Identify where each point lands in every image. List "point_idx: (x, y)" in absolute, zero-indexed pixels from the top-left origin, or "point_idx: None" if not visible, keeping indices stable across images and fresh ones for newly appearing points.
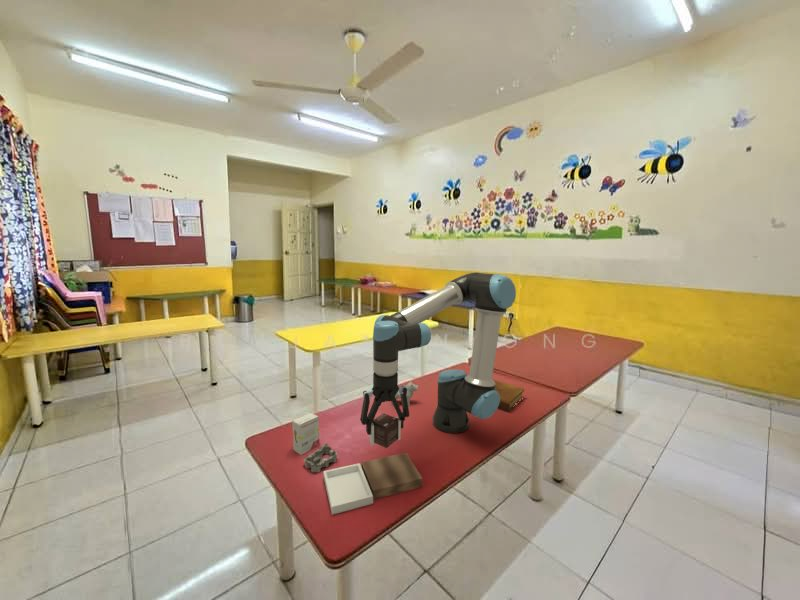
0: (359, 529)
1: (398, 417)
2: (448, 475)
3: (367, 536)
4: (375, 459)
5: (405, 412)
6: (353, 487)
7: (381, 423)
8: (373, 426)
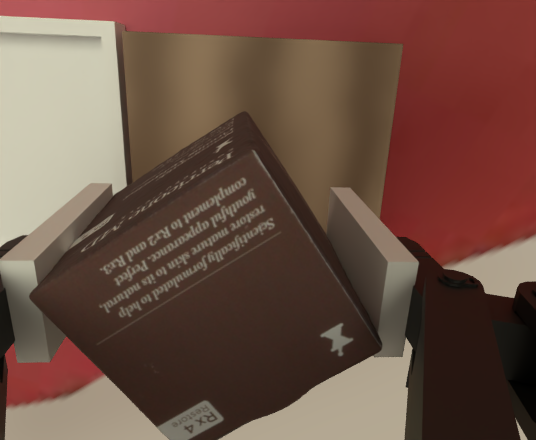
0: (70, 346)
1: (413, 285)
2: (497, 222)
3: (92, 375)
4: (209, 37)
5: (519, 423)
6: (70, 154)
7: (141, 391)
8: (46, 356)
